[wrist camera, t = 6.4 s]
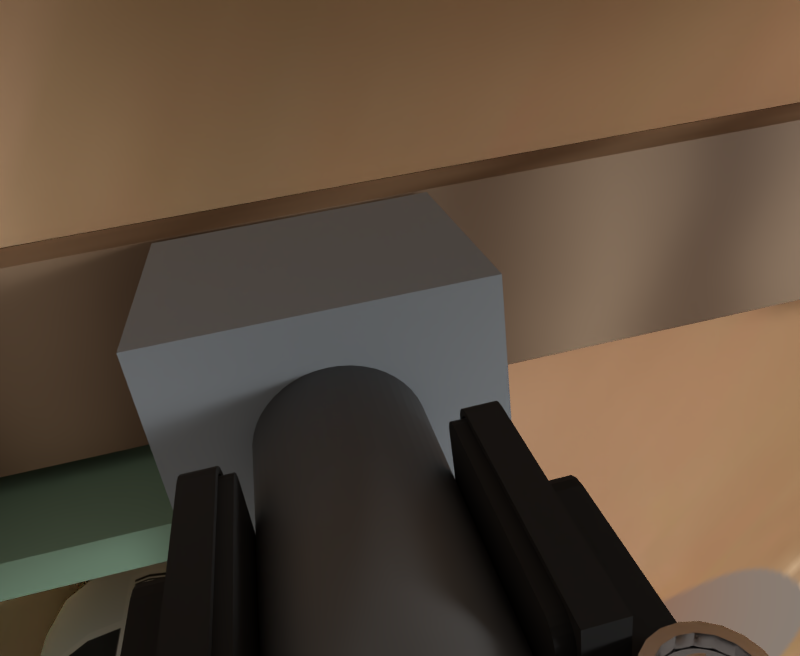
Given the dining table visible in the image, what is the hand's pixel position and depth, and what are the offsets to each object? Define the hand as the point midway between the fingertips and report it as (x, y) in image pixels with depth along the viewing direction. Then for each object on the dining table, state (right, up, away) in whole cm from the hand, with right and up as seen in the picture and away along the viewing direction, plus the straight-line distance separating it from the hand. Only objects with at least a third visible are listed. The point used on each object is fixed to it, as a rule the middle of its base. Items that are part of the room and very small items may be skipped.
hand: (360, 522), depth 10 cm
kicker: (-1, -3, +11) cm, 11 cm away
